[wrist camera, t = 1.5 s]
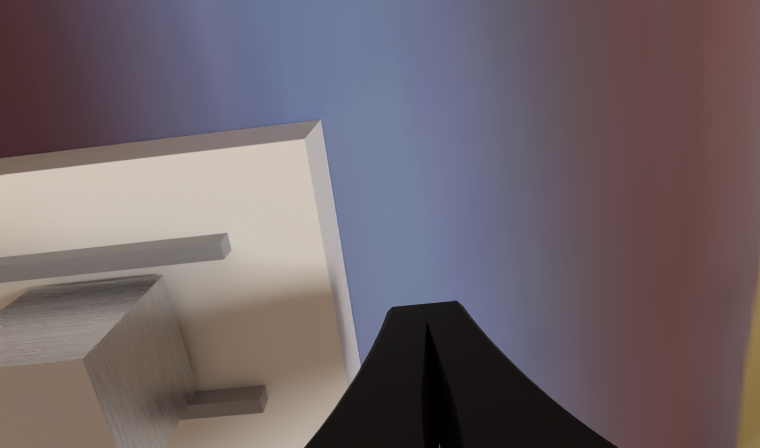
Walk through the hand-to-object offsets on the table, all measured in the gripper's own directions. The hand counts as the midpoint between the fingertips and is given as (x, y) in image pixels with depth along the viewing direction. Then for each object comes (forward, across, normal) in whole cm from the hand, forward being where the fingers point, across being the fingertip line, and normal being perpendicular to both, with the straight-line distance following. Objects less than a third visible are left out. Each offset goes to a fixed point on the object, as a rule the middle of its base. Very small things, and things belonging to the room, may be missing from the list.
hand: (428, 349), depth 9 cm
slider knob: (+2, +7, 0) cm, 7 cm away
